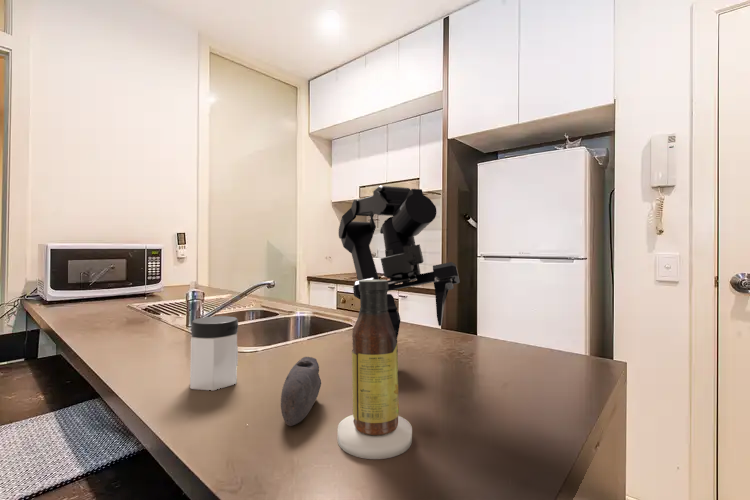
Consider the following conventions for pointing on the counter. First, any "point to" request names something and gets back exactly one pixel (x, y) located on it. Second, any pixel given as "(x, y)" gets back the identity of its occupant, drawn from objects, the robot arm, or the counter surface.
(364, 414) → the sauce bottle
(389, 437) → the coaster
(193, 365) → the jar
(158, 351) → the counter surface
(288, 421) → the perforated stone tool
